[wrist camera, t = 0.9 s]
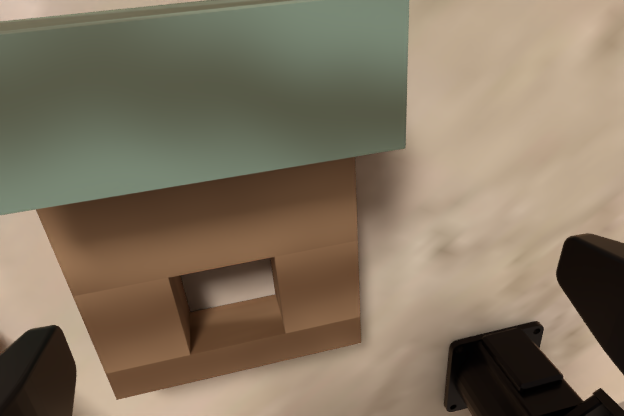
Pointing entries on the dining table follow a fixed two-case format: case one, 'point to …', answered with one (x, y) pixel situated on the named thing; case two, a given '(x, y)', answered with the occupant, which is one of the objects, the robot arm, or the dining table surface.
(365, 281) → the dining table surface
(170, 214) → the socket board
